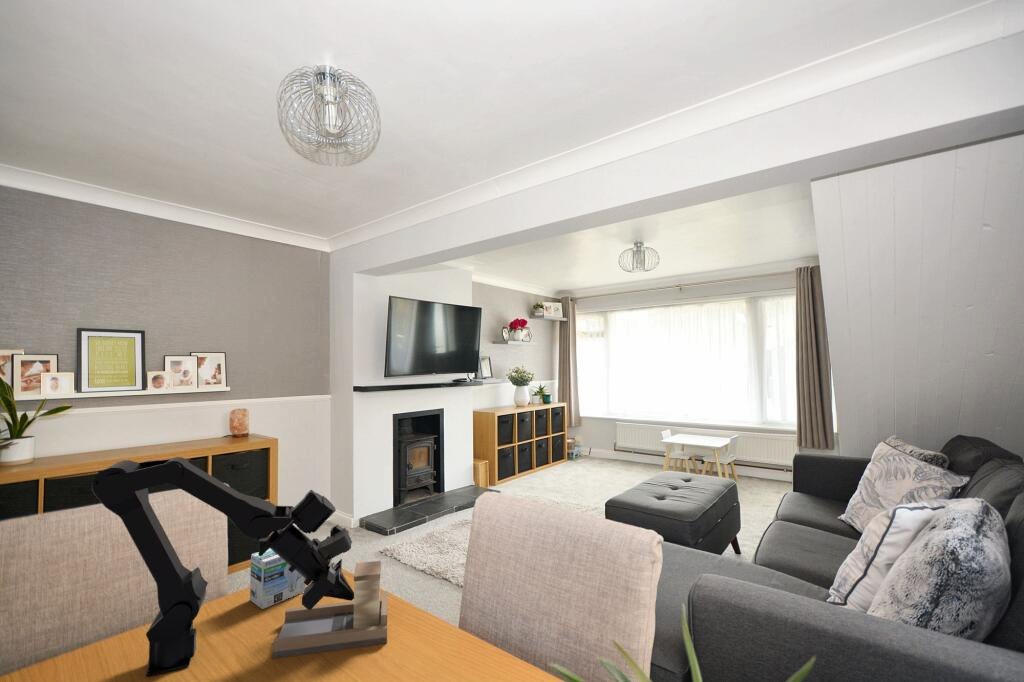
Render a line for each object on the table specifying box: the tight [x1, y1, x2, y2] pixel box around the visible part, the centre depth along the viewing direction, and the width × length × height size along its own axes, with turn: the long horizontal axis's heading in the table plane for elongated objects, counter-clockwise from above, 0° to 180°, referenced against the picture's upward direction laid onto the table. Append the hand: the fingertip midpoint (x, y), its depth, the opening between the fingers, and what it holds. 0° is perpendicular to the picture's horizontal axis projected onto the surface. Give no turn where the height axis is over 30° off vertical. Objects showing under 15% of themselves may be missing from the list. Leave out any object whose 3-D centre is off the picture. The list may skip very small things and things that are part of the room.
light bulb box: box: [249, 548, 307, 610], centre depth 113 cm, size 11×7×11 cm, turn 143°
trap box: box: [272, 590, 389, 659], centre depth 98 cm, size 21×12×5 cm, turn 104°
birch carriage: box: [353, 560, 382, 629], centre depth 100 cm, size 5×6×11 cm
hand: (353, 598), depth 99 cm, fingers closed, pressing on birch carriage
